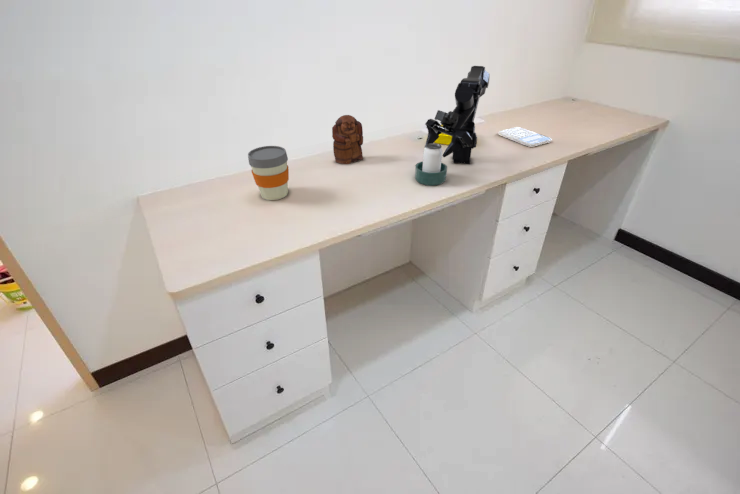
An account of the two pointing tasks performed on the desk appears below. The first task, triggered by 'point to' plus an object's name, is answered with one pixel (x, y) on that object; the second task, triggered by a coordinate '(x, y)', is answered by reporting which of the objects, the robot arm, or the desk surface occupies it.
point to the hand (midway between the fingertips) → (434, 152)
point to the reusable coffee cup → (270, 171)
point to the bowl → (430, 175)
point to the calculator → (524, 136)
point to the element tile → (443, 138)
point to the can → (432, 158)
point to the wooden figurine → (347, 140)
